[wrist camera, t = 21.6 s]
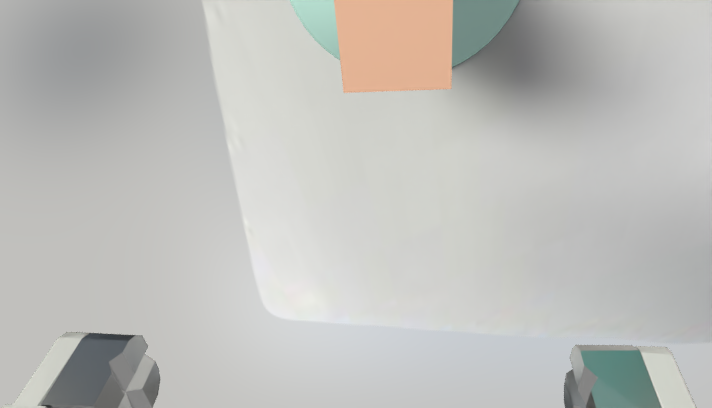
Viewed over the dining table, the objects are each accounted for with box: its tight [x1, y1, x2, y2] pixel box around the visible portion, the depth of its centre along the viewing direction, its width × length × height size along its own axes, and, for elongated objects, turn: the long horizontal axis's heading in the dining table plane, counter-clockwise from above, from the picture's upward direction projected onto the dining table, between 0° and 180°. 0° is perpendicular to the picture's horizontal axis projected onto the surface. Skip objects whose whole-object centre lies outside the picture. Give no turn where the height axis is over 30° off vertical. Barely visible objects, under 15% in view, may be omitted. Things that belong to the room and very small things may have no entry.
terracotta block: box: [334, 0, 453, 93], centre depth 26 cm, size 5×5×5 cm
